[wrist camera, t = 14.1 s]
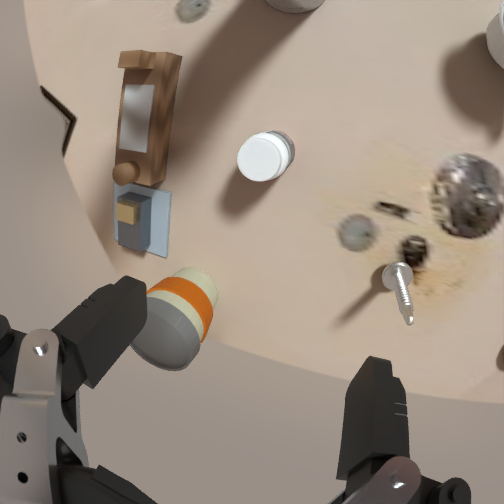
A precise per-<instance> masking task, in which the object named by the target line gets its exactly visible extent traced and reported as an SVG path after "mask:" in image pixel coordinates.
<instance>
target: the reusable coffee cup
mask: <svg viewBox="0 0 504 504" xmlns="http://www.w3.org/2000/svg"><path fill="white" fill-rule="evenodd" d="M217 299H218V289H217V287H216V284H215V283H214V281H213V280H212V279H211V277H210V276H209V275H207V274H206V273H205V272H203V271H201V270H199V269H196V268H184V269H181V270H180V271H178V272H177V273H176V274H174V275H173V276H172V277H168V278H165V279H163V280H162V281H160V282H159V283H158V284H156V285H155V286H153V287H152V288H151V289H149V290H148V291H147V320H146V323H145V326H144V327H143V329H142V330H141V332H140V333H139V334H138V335H137V336H136V337H135V339H134V340H133V341H132V342H131V343H130V346H131V347H132V348H133V350H134V351H135V352H136V353H137V354H138V355H139V356H141V357H142V358H143V359H144V360H146V361H147V362H149V363H150V364H152V365H154V366H156V367H158V368H161V369H164V370H168V371H179V370H182V369H184V368H186V367H187V366H188V365H189V364H190V363H191V361H192V360H193V359H194V358H195V356H196V355H197V353H198V352H199V349H200V343H201V342H203V340H204V338H205V336H206V334H207V331H208V329H209V326H210V324H211V321H212V318H213V309H214V307H215V305H216V302H217Z"/></svg>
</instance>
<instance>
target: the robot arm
mask: <svg viewBox="0 0 504 504" xmlns="http://www.w3.org/2000/svg"><path fill="white" fill-rule="evenodd" d="M324 1H325V0H266V2H267V3H268V4H270V5H271V6H272V7H274V8H275V9H278V10H280V11H283V12H287V13H304V12H307V11H311V10H313V9H315V8H317V7H318V6H320V5H321V4H322V3H323V2H324ZM146 320H147V292H146V284H145V283H144V282H142V281H140V280H137V279H135V278H132V277H130V276H124V277H122V278H121V279H120V280H119V281H118V282H117V283H115V284H114V285H113V284H108V285H106V286H104V287H101V288H99V289H97V290H96V291H95V292H94V293H92V294H91V295H90V296H89V297H88V299H85V300H84V301H83V302H82V303H81V305H79V306H77V308H75V309H74V310H73V311H72V312H71V313H70V314H69V315H67V316H66V317H65V318H64V319H63V320H62V321H61V322H60V323H59V324H57V325H56V326H55V327H54V328H53V329H52V330H48V329H36V330H33V331H31V332H30V333H28V334H26V333H23V332H20V331H17V330H13V329H11V327H10V325H9V322H8V320H7V318H6V317H5V316H3V315H0V504H157V503H156V502H155V501H153V500H152V499H151V498H149V497H148V496H147V495H146V494H144V493H143V492H142V491H141V490H139V489H138V488H137V487H136V486H135V485H133V484H132V483H130V482H129V481H127V480H125V479H123V478H121V477H120V476H117V475H116V474H114V473H113V472H111V471H109V470H107V469H106V468H104V467H102V466H101V465H99V466H98V467H97V469H94V468H90V467H89V463H88V456H87V452H86V449H85V446H84V443H83V440H82V435H81V421H80V398H79V387H80V386H81V385H82V384H83V383H84V384H85V385H87V386H88V387H90V388H92V389H94V387H95V386H96V385H97V384H98V382H99V381H100V380H101V378H102V377H103V376H104V375H105V374H106V373H107V371H108V370H109V369H110V368H111V366H112V365H113V364H114V363H115V362H116V360H117V359H118V358H119V357H120V355H121V354H122V353H123V352H124V351H125V349H126V348H127V347H128V346H129V345H130V343H131V342H132V341H133V340H134V339H135V337H136V336H137V335H138V334H139V333H140V332H141V330H142V329H143V327H144V326H145V323H146ZM336 479H339V480H346V481H347V483H346V488H345V489H344V490H343V491H341V492H340V493H339V494H338V495H337V496H336V497H335V498H334V499H332V501H330V502H329V503H328V504H471V491H470V487H469V486H468V484H467V482H466V481H464V480H463V479H461V478H451V479H449V480H448V481H446V482H444V483H440V482H438V481H435V480H432V479H429V478H427V477H424V476H422V475H421V472H420V469H419V467H418V466H417V464H416V463H415V462H414V461H413V460H411V459H410V454H409V430H408V417H407V406H406V393H405V389H404V387H403V385H402V383H401V381H400V379H399V378H396V377H393V374H392V364H391V361H389V360H386V359H381V358H377V357H373V356H369V357H368V358H367V359H366V360H365V362H364V363H363V365H362V367H361V368H360V370H359V371H358V372H357V374H356V375H355V377H354V378H353V380H352V381H351V383H350V385H349V387H348V390H347V393H346V397H345V409H344V420H343V430H342V440H341V448H340V455H339V463H338V470H337V476H336Z"/></svg>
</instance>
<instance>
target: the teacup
mask: <svg viewBox="0 0 504 504" xmlns="http://www.w3.org/2000/svg"><path fill="white" fill-rule="evenodd" d="M486 38H487V47H488V50H489V53H490V55H491V56H492V58H493V59H494V60H495V62H496V63H497V64H499V65H500V66H501V67H502V68H503V69H504V1H503V2H502V4H501V6H500V9H499V13H498V14H497V15H496V16H495V17H494V18H493V19H492V20H491V22H490V23H489V25H488V27H487V32H486Z"/></svg>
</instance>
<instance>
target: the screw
mask: <svg viewBox="0 0 504 504" xmlns="http://www.w3.org/2000/svg"><path fill="white" fill-rule="evenodd" d="M412 276H413V273H412V269H411V267H410V266H409V265H408V264H407V263H405V262H402V261H396V262H392V263H390V264H389V265H387V266H386V267H385V269H384V270H383V272H382V282H383V284H384V286H385V287H386V288H388V289H389V290H393V291H395V293H396V297H397V301H398V305H399V310H400V312H401V314H402V315H403V317H404V320H405V322H406V324H407V325H412V324H413V305H412V300H411V297H410V294H409V291H408V288H407V286H408V285H409V284H410V282H411V280H412Z"/></svg>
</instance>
